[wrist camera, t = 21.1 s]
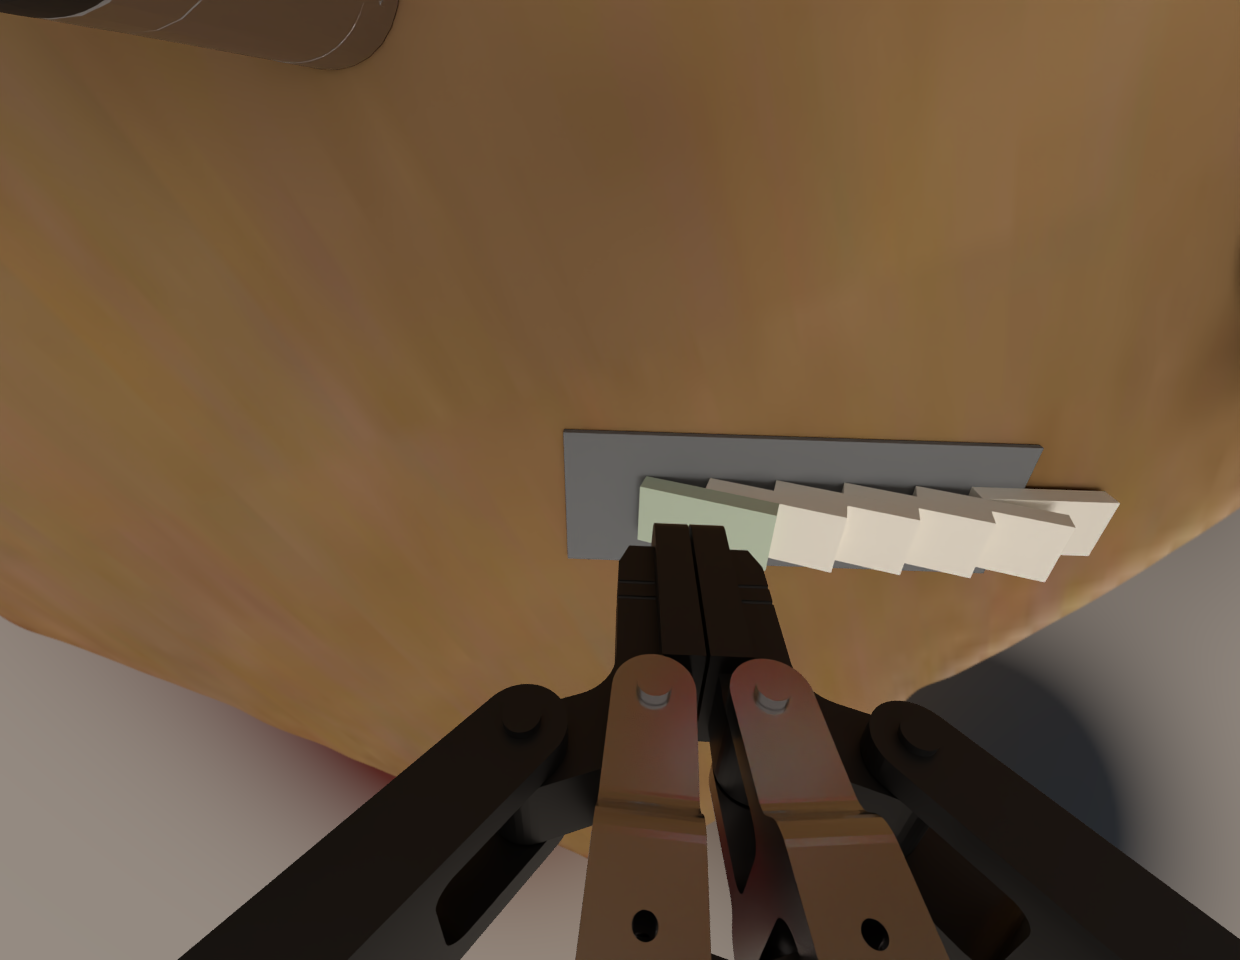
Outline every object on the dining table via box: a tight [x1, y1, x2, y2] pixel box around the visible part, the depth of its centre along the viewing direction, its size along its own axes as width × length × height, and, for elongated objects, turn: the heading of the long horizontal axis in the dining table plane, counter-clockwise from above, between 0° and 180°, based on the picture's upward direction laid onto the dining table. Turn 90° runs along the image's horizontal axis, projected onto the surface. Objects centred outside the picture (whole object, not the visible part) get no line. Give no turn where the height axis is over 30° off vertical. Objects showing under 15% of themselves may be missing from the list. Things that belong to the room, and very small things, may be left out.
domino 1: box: [638, 476, 779, 570], centre depth 42 cm, size 2×5×10 cm
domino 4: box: [842, 482, 996, 578], centre depth 42 cm, size 2×5×10 cm
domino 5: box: [912, 486, 1076, 582], centre depth 42 cm, size 2×5×10 cm
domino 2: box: [706, 478, 848, 572], centre depth 42 cm, size 2×5×10 cm
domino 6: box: [968, 487, 1120, 556], centre depth 43 cm, size 2×5×10 cm
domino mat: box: [563, 429, 1044, 573], centre depth 45 cm, size 35×12×1 cm, turn 89°
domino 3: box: [774, 480, 921, 575], centre depth 42 cm, size 2×5×10 cm
